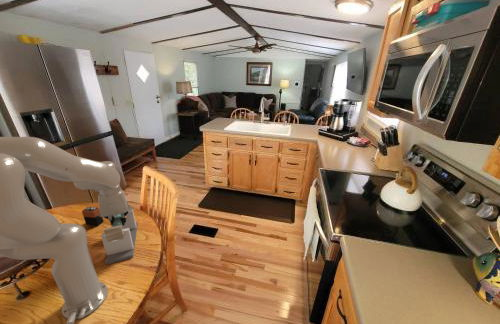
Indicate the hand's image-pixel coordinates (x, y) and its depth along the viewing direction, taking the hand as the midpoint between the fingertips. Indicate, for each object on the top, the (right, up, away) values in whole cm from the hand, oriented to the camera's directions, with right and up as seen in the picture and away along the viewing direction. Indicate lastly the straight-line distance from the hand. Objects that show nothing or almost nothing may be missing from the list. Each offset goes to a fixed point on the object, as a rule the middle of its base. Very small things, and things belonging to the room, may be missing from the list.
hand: (119, 224), depth 94 cm
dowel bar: (0, 0, 0) cm, 1 cm away
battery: (-23, -5, +16) cm, 28 cm away
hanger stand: (0, -10, +4) cm, 10 cm away
